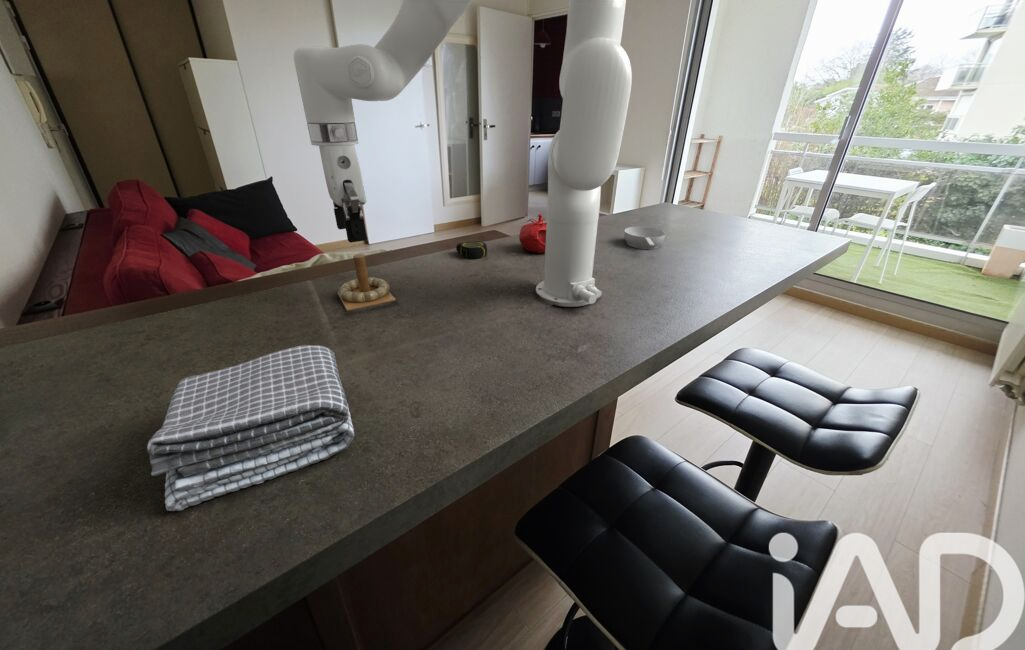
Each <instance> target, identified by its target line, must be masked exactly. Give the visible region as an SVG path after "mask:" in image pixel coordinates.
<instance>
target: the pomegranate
mask: <svg viewBox="0 0 1025 650" xmlns="http://www.w3.org/2000/svg"><path fill="white" fill-rule="evenodd" d="M537 216H538V220H537V219H534V218H532V219H528V220H526V221H525V223H526V224H524V225H522V226H521V228H520V231H519V235H518V239H519V243H520V245H521V247H522V248H523V249H524V250H526V251H527V252H530V253H535V254H545V246H546V225H547V218H543V214H542V213H539V214H538V215H537ZM544 221H545V222H544ZM527 222H529V223H527Z"/></svg>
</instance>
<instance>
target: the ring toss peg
mask: <svg viewBox="0 0 1025 650" xmlns="http://www.w3.org/2000/svg"><path fill="white" fill-rule="evenodd" d="M352 258H353V263H354V269H355V273H356V274H355V275H356V279H357V280H358V286H359V288H356V289H354V290H351V291H350V292H368V291H373V290H375V289H377V288H378V287H370V285H369V279H368V278H369V273H368V268H367V261H366V256H365V254H363V253H362V254H361V253H358V254H354V255H353V256H352ZM337 295H338V298H339V300H340V301H341V303H342V304H343V306H344V308H345V310H346V312H349V311H353V310H358V309H362V308H367V307H372V306H376V305H382V304H387V303H390V302H396V298H395V297H394V295H393V294H392V293H391V292H390V290H388V292H387V293H386V295H384V296H382V297H380V298H378V299H376V300H372V301H367V302H350V301H347V300H344V299H342V298H341V296H340V294H339V292H338V291H337Z"/></svg>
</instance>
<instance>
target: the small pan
mask: <svg viewBox="0 0 1025 650" xmlns="http://www.w3.org/2000/svg"><path fill="white" fill-rule="evenodd" d="M623 235H624V237H623V238H624V240H625V242H626V245H627V246H630V247H632V248H636V249H642V250H653V249H657V248H659V247H660V245H661V244H662V243H663V242H664V240H665V237H666V232H665V231H664V230H662V229H660V228H656V227H649V226H629V227H626V228H625V229H624V234H623Z"/></svg>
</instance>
